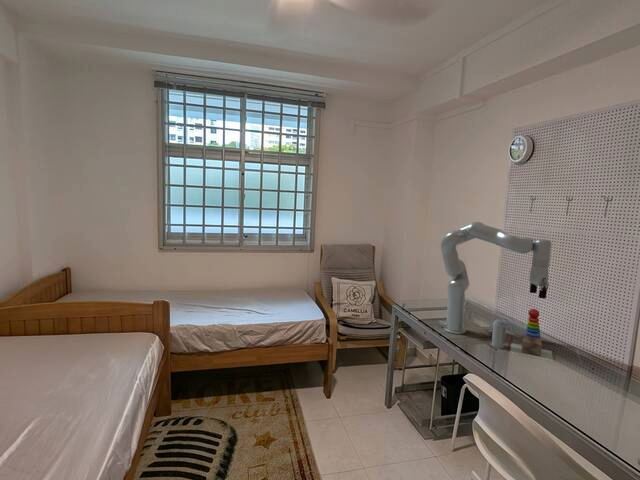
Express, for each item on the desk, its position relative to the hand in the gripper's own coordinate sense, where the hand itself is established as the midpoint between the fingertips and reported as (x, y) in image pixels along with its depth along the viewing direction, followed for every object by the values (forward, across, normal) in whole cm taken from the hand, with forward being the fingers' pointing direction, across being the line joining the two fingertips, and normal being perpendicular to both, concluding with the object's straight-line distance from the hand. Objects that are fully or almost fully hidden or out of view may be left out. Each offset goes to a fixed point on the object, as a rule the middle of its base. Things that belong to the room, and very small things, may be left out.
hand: (537, 295), depth 178 cm
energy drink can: (+29, +4, -19) cm, 35 cm away
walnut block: (+27, +9, -5) cm, 29 cm away
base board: (+29, +9, -5) cm, 30 cm away
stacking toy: (+29, -8, +3) cm, 30 cm away
